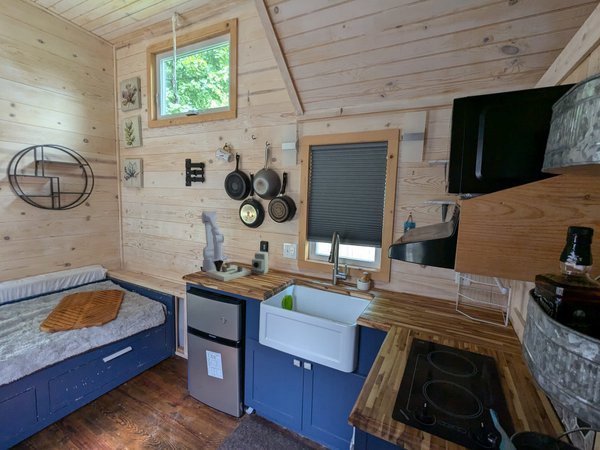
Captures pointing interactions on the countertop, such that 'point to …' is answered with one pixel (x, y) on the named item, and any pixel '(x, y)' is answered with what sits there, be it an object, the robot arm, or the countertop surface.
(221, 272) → the breaker panel
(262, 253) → the circuit breaker
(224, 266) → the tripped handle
